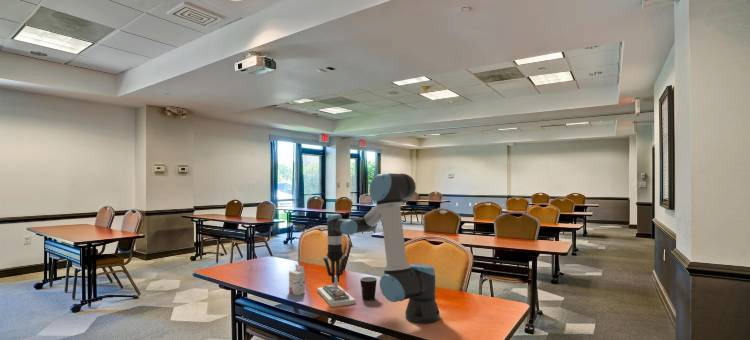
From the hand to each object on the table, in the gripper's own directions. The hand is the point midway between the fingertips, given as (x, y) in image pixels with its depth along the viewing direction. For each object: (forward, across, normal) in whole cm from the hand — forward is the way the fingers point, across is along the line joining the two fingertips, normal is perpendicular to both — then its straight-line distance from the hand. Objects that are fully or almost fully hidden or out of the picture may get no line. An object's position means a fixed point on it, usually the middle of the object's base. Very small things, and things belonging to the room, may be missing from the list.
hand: (335, 288), depth 200 cm
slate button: (+2, 0, 0) cm, 2 cm away
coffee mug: (+5, -16, +8) cm, 18 cm away
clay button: (+1, 0, +8) cm, 8 cm away
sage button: (+2, 0, -8) cm, 9 cm away
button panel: (+5, 0, 0) cm, 5 cm away
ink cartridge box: (+5, +17, -16) cm, 24 cm away
